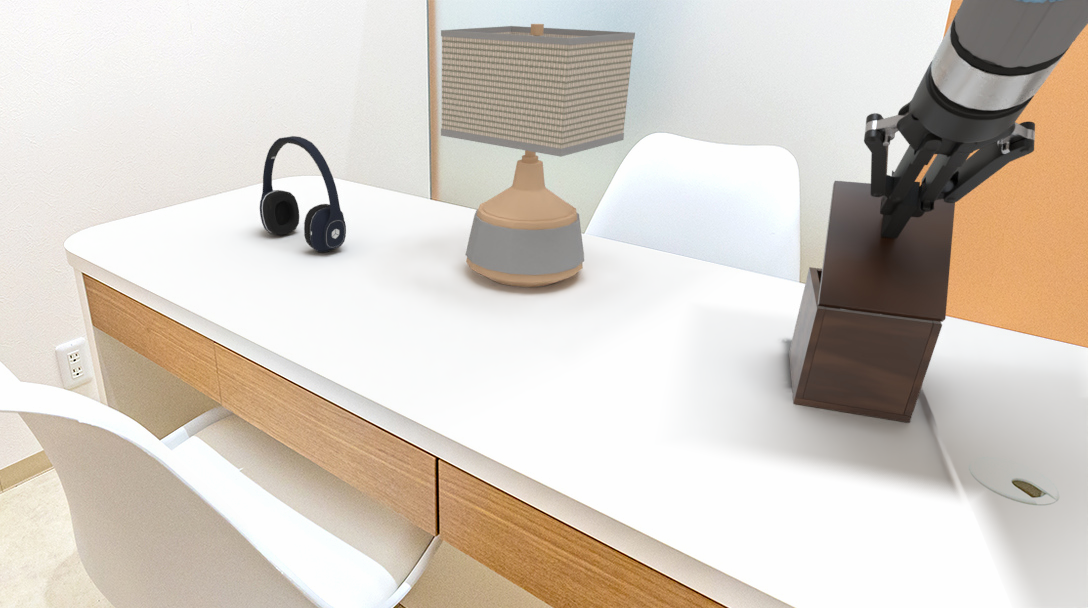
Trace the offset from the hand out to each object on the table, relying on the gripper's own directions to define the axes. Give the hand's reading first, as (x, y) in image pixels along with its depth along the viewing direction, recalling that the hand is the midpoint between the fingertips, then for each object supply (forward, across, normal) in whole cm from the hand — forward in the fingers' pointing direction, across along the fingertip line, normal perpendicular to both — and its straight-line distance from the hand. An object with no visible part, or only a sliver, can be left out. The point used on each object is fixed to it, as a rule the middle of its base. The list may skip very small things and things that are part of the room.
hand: (890, 226), depth 79 cm
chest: (+14, 0, +13) cm, 19 cm away
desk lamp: (+31, +45, -3) cm, 55 cm away
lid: (+1, 0, +2) cm, 2 cm away
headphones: (+32, +86, -4) cm, 92 cm away
